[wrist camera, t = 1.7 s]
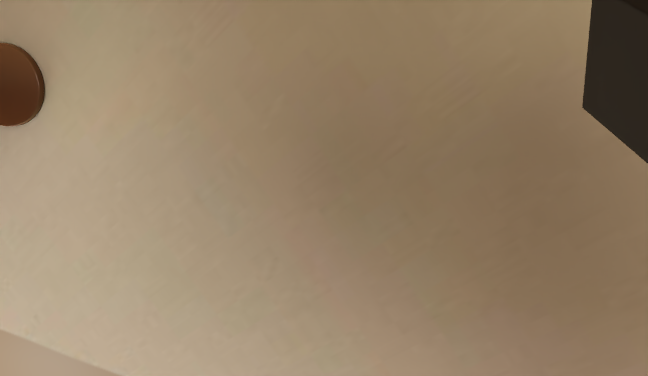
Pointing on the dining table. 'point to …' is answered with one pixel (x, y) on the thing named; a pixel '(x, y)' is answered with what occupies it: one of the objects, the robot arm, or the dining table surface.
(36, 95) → the brown round coaster
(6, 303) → the dining table surface
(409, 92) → the dining table surface
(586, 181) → the dining table surface
